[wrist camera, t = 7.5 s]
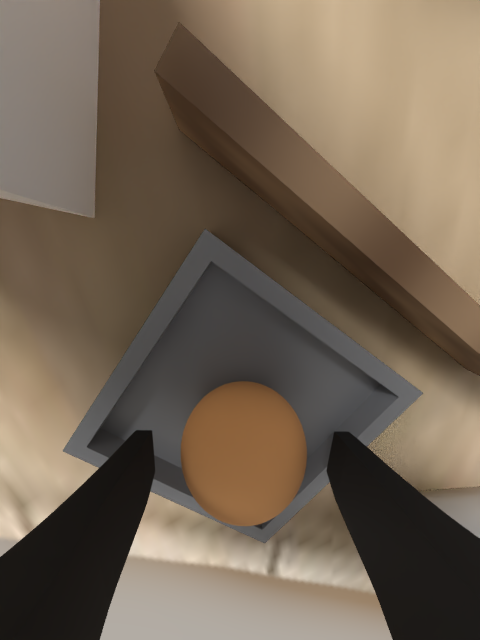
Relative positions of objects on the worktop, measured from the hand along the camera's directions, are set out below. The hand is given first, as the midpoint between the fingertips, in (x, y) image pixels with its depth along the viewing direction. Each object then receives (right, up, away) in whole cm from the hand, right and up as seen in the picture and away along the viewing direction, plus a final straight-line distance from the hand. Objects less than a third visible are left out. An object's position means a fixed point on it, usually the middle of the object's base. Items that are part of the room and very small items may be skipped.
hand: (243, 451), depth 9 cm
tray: (0, +1, +3) cm, 3 cm away
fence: (+5, +8, +1) cm, 10 cm away
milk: (-11, +16, -1) cm, 19 cm away
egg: (0, 0, 0) cm, 0 cm away
